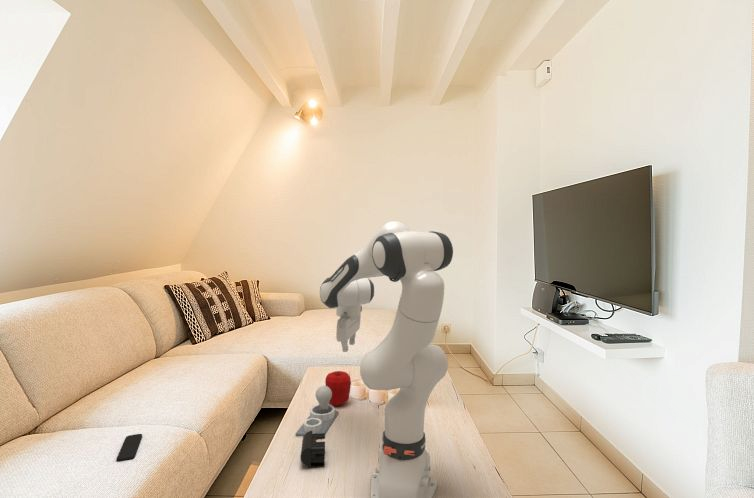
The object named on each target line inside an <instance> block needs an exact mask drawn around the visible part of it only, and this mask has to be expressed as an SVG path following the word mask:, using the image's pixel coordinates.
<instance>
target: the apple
mask: <svg viewBox="0 0 754 498" xmlns="http://www.w3.org/2000/svg"><path fill="white" fill-rule="evenodd" d="M351 380H352V379H351V376H350V375H349V374H348V372H346V371H342V370H338V371H337V370H336V371H332V372H329V373H328V374H327V375H326V377H325V382H324V383H325V386H327V387H329V388H330V389H331V392H332V397H331V399H330V401H329V404H330V405H332V406H333V407H339V406H342V405H344V404H345V403H346V402H348V401H349V399H350V394H351V387H352V382H351Z"/></svg>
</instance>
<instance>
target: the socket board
mask: <svg viewBox="0 0 754 498" xmlns="http://www.w3.org/2000/svg"><path fill="white" fill-rule="evenodd" d="M338 415H339V410H336V409H335V406H333V405H332V404H330V403H328V408H327V414H321V411H320V406H319V404H316V405H313V406H311V408H310V409H309V416H308V417H307V418H306V419H305V420H304V421H303V423H302V425H301V426H300V427H299V429H297V431H296V433H295V437H298V436H303V437H304V435H305V434H306V433H307V432H309V431H312V434H318V433H325V435H326V434H327V433H328V431H329V429H330V428H331V426H332V424H333V423H334V421H335V420H336V418H337V417H338ZM329 427H330V428H329ZM303 437H302V438H303Z"/></svg>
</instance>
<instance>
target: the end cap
mask: <svg viewBox="0 0 754 498" xmlns="http://www.w3.org/2000/svg"><path fill="white" fill-rule="evenodd" d="M324 439H326V434H325V433H318V434H312V431H309V432H307V433H306V434H305V435H304V437H302V444H301V451H300V462H301V463H302V464H303V465H304V466H306V467H307V468H309V469H316V468H317V469H318V468H319V469H320V468H325V464H326V463H325V462H326V461H325V460H326V459H325V458H326V441H318V440H324Z"/></svg>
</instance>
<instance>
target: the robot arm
mask: <svg viewBox="0 0 754 498" xmlns="http://www.w3.org/2000/svg"><path fill="white" fill-rule="evenodd" d="M453 256H454V247H453V243H452V241H451V239H450V237H448V236H447V235H446V234H445V233H443V232H438V231H433V230H431V231H416V230H415V231H414V230H411V229H410V228H409V227H408V226H407V225H406V224H405V223H403V222H401V221H397V220H392V221H388V222H386V223H385V224H384V225H382V227H380V228H379V229H378V230H377V231H376V233H375V234H374V235H373V236H372V237H371V239H370V240H369V242H368V243H367V244H366V245H365V246H364V247H363V248H362V249H359V251H357V252H356V253H354V254H352V255H350V257H348V258H346V260H344V262H343V263H341V265H340V266H339V267H338V268H337V269H336V270H335V271H334V273H333V274H332V275H330V277H326V278H325V280H324V281H323V282H322V283H321V285H320V288H319V298H320V301H321V302H322V303H323V305H325V306H326V307H327V308H328V309H335V308H336V314H335V315H336V316H337V317H339V318H338V319H337V321H336V322H337V323H336V336H335V337H336V341H337V342H340V343H341V347H342V348H341V349H342V352H343V353H347V352H348V351H349V346H348V343H349V345H350V346H352V345H353V346H354V345H355V343H356V342H355V341H356V335H357V332H358V331H359V330H360V327H361V317H362V316H361V315H362V314H361V313H362V311H363V306H362V305H367V304H370V303H371V302H372V300H373V298H374V296H375V285H374V283H373V281H372V280H371V279H370V278H377V277H383V276H384V277H388V279H389V281H390V282H392V283H397V282H399V281H400V282H401V293H400V296H399V301H398V305H397V310H396V314H395V316H394V317H395V318H394V321H393V324H392V327H391V329H390V331H389V332H388V333H387V334H386V336H385V337H384V339H383V340H382V341H381V342H380V343H379V344H378V345H377V346H376V347H375V348H373V349H372V350H370V351H369V352H366V353H365V354H364V356H363V358H362V359H361V361H360V367H359V373H360V378H361V380H362V382H363V384H364V385H365V386H366V387H367V388H368V389H370V390H374V391H375V390H377V391H378V390H379V391H390V390H396V389H399V390H398V391H397V393H396V394H395V395H393V396H392V397H391V398H390V399H389V400H388V401H387V403H386V404H385V408H384V430H383V432H382V439H381V440H382V441H381V442H382V443H381V444H382V445H381V447H380V448H378V467H376V468H375V470H374V471H373V472H372V473H371V475H370V486H369V487H370V490H369V494H370V495H369V498H433V497H434V494H435V492H436V491H437V488H438V482H437V480H436V479H434V478H432V477H431V476H432V475H431V474H432V473H431V454H430V453H429V452H428V451H427V449H426V443H427V442H426V441H427V440H426V433H425V431H424V430H425V417H426V416H425V413H426V407H427V405H428V404H427V403H428V401H429V398H430V396H431V394H432V392H433V390H434V388H435V387H436V386H437V384H438V383H439V382H440V381H441V380H442V379H443V378H444V377H445V376H446V374H447V373H448V368H449V361H448V357H447V355H446V352H445V350H443V348H442V347H441V346H439V345H436V344H431V343H432V341H433V340H434V338H435V335H436V332H437V327H438V325H439V321H440V317H441V313H442V309H443V305H444V299H445V282H444V279H443V277H442V276H441V275H440V274H439V273H438V271H441V270H444V269H445V268H447V267H448V266H449V265H450V264H451V263H452V260H453ZM348 341H349V342H348Z"/></svg>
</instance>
